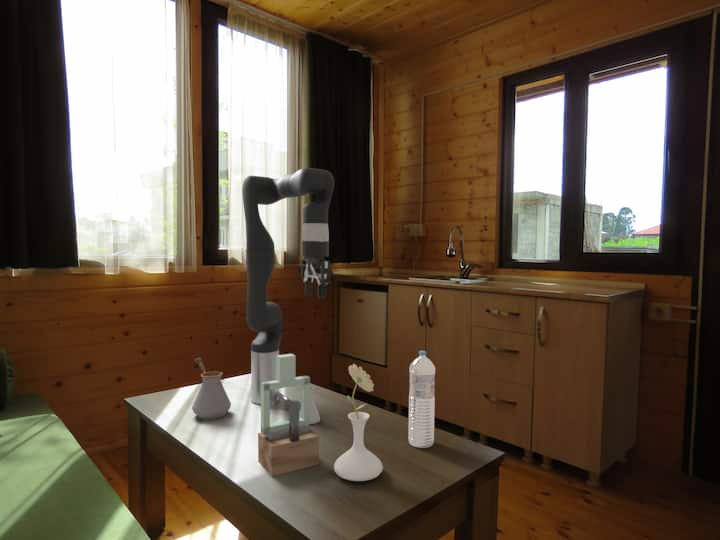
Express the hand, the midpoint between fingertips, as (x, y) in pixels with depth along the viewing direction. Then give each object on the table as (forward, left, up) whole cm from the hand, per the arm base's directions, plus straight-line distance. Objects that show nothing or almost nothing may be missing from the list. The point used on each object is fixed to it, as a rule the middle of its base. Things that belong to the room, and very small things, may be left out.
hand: (315, 296), depth 133 cm
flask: (-6, +1, -38) cm, 39 cm away
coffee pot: (-30, -23, -38) cm, 54 cm away
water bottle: (+24, +20, -38) cm, 49 cm away
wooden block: (+17, -15, -38) cm, 44 cm away
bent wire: (+11, -15, -31) cm, 36 cm away
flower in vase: (+29, -3, -38) cm, 48 cm away
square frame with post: (+15, -15, -31) cm, 38 cm away
